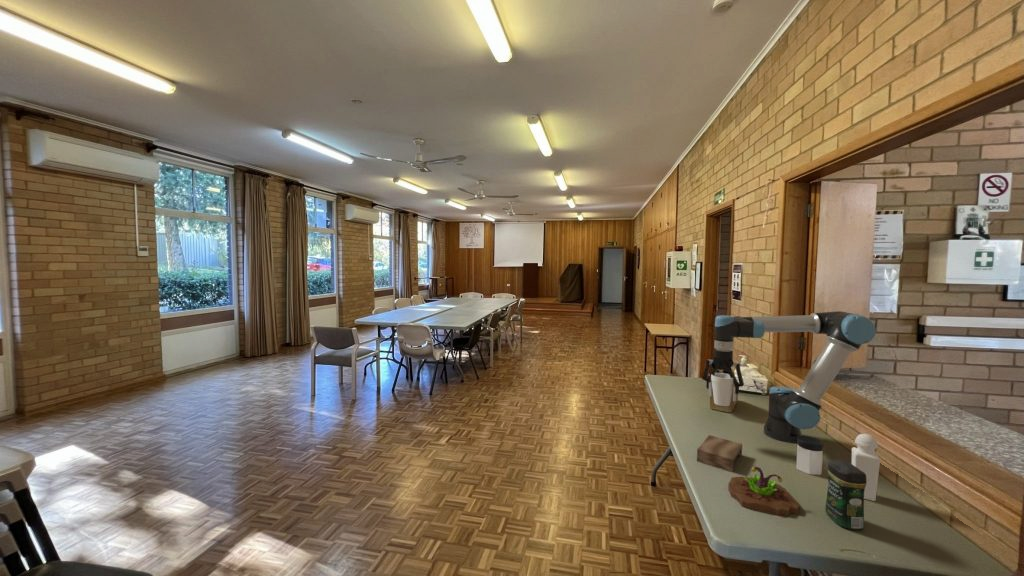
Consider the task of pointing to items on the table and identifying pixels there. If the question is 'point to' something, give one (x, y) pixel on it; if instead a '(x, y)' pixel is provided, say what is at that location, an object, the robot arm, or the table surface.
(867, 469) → the soap dispenser
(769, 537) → the table surface
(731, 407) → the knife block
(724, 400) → the foam cup
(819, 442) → the jar
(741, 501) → the plant
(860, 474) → the coffee jar
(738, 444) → the walnut shelf stand
